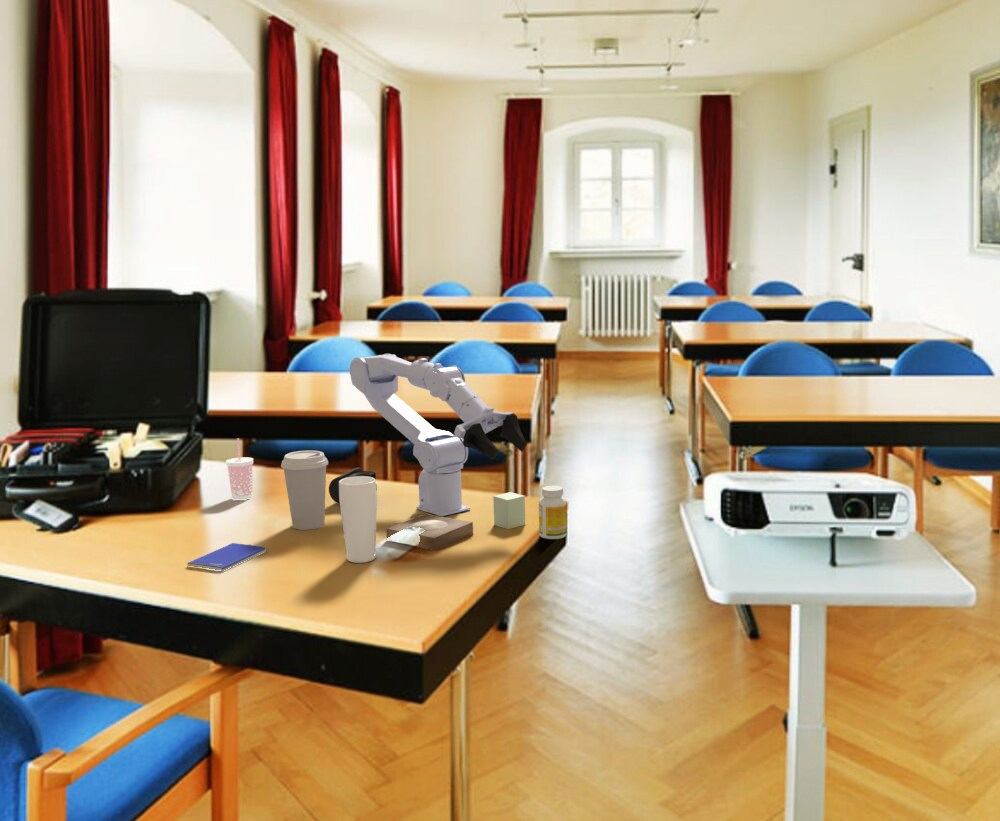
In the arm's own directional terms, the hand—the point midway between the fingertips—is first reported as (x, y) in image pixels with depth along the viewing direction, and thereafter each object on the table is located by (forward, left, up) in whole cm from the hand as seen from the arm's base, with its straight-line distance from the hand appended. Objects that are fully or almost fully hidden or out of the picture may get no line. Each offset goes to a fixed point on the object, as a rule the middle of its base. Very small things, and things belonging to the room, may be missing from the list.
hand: (510, 451), depth 201 cm
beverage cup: (-63, -28, -16) cm, 71 cm away
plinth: (-7, -15, -16) cm, 23 cm away
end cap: (-42, -11, -16) cm, 46 cm away
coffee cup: (-32, -28, -16) cm, 45 cm away
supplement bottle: (+9, +3, -16) cm, 19 cm away
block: (-3, +2, -16) cm, 16 cm away
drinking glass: (-5, -32, -16) cm, 36 cm away
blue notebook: (-23, -50, -17) cm, 58 cm away
